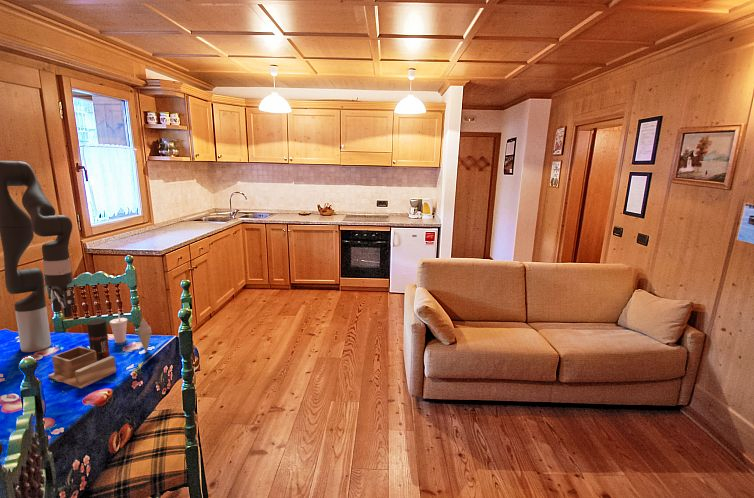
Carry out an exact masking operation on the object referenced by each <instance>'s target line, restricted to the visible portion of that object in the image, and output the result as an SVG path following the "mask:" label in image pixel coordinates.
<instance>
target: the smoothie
mask: <svg viewBox="0 0 754 498" xmlns="http://www.w3.org/2000/svg"><path fill="white" fill-rule="evenodd" d="M120 312H121V311H120V310H118V311H117V314H118V315H117V316H118V317H117V318H114V319H111V320H110V321H109V325H110V328H111V330H112V331H111V332H112V335H113V339H114V342H115V343H116V344H122V343H125V342H126V340H127V339H126V338H127V326H128V324H127V323H128V318H126V317H121V314H120Z"/></svg>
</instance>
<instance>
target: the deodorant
mask: <svg viewBox="0 0 754 498" xmlns="http://www.w3.org/2000/svg"><path fill="white" fill-rule="evenodd" d="M86 323H87V324H86V325H87V326H86V327H87V334H88V335H87V336H88V342H89V349H92V350H95V351H96V356H97V362H98V361H100V360H102V359H105V358H107V357H109V356H111V355H110V347H109V346H110V344H109V335H108V327H107V325H108V324H107V319H106V318H105V319H104V318H98V319H92V320H90V321H87V322H86Z"/></svg>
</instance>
